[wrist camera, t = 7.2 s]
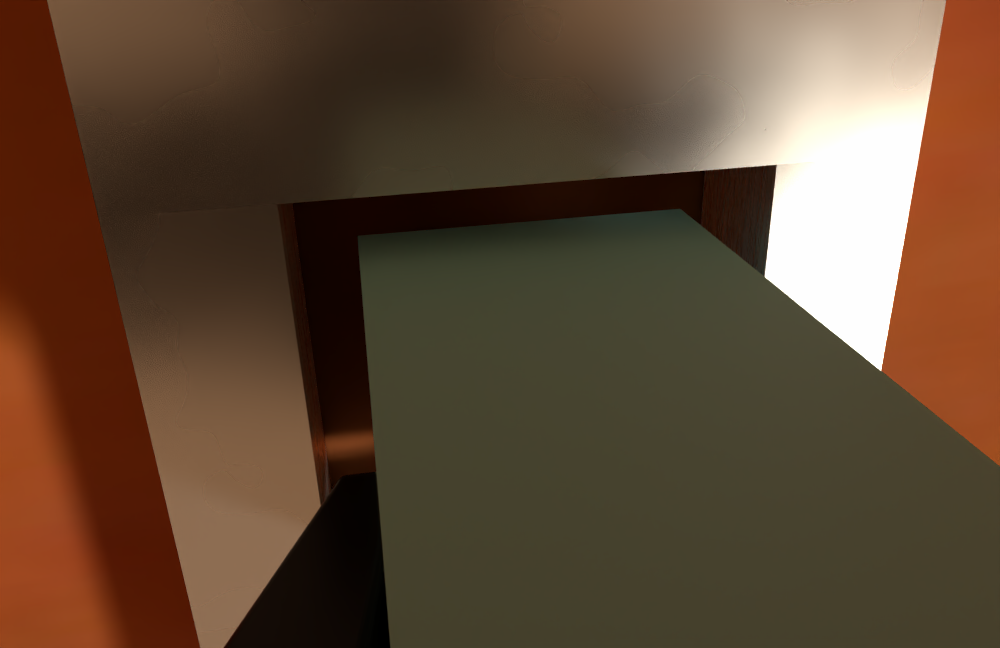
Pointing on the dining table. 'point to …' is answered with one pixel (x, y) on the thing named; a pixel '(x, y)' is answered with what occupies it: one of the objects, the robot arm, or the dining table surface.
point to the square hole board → (449, 186)
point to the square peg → (653, 453)
